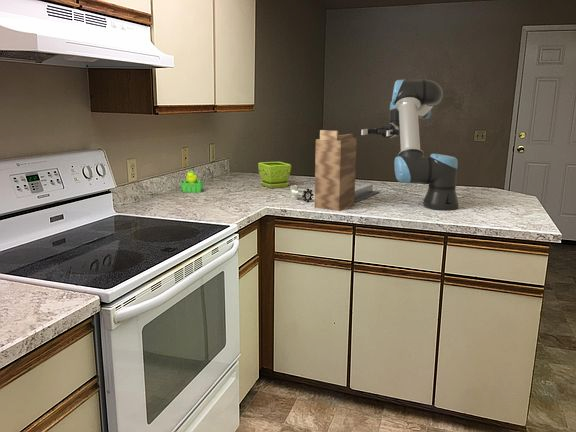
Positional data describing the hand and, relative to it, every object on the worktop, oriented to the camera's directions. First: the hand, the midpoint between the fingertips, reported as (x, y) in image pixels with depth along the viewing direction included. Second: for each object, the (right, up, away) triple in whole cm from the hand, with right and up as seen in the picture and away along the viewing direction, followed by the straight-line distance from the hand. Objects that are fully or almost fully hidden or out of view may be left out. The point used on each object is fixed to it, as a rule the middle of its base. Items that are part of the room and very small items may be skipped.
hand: (374, 132), depth 256 cm
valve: (-39, -35, -18) cm, 55 cm away
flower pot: (-51, -26, +19) cm, 61 cm away
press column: (-23, -38, -29) cm, 53 cm away
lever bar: (-8, -32, -6) cm, 33 cm away
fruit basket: (-93, -30, +2) cm, 98 cm away
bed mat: (-9, -33, -8) cm, 35 cm away
